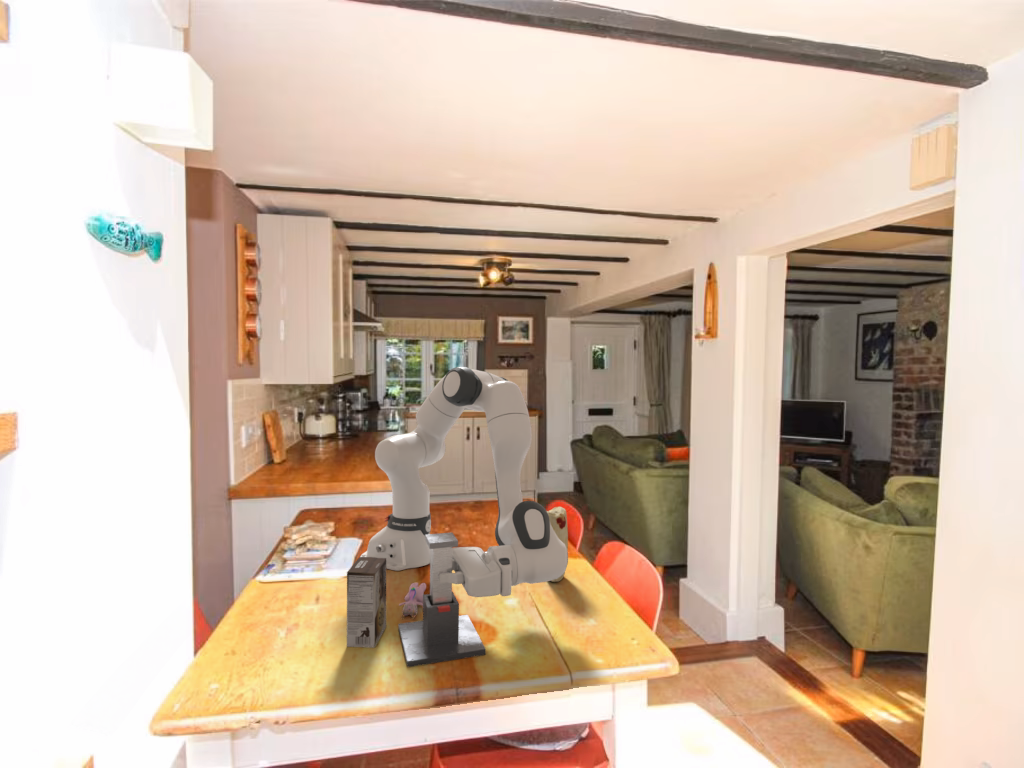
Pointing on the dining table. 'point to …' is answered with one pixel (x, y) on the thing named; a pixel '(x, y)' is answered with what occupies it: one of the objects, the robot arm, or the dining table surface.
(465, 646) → the stand base
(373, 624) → the coffee box
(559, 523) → the food model
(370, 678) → the dining table surface
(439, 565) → the steel column
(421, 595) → the rabbit figure
